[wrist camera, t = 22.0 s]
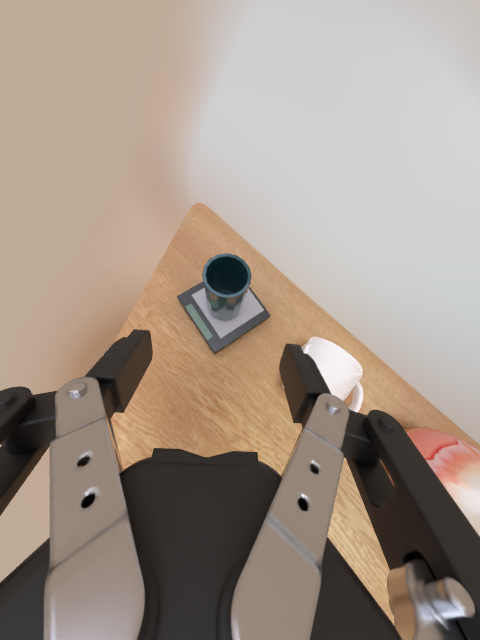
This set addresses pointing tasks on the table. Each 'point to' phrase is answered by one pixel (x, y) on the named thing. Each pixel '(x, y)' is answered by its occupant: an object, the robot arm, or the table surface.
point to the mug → (337, 369)
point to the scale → (217, 330)
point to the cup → (226, 285)
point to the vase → (452, 468)
